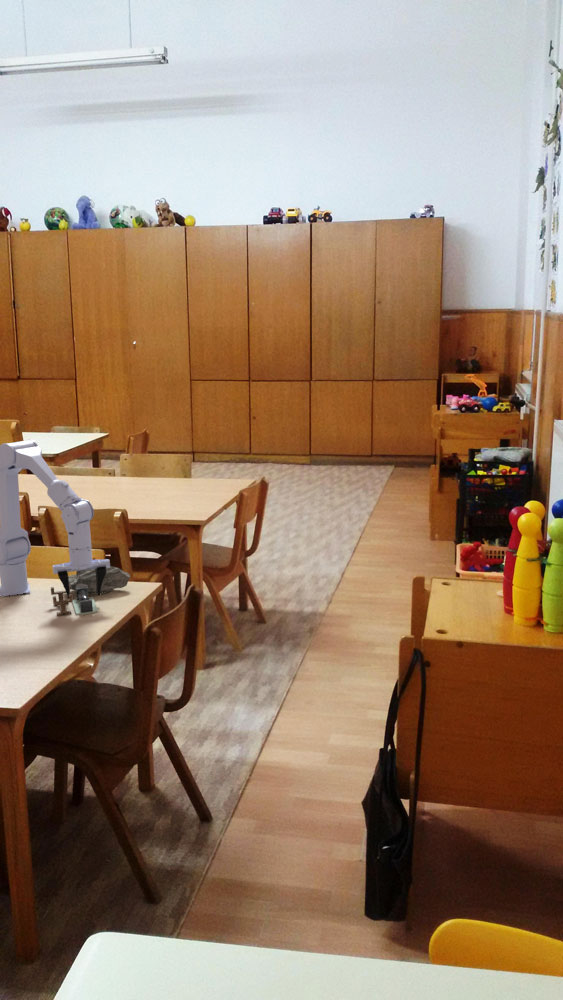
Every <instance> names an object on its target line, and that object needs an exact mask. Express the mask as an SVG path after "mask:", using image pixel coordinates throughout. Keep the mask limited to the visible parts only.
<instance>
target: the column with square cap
mask: <svg viewBox="0 0 563 1000" xmlns="http://www.w3.org/2000/svg"><path fill="white" fill-rule="evenodd" d="M75 594H76V599H77V600H80V609H81V613H85V612H92V611H93V607H92V600H89V598H90V597H89V594H88V588H87V587H85V588H77V589H76V592H75Z"/></svg>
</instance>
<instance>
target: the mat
mask: <svg viewBox="0 0 563 1000" xmlns="http://www.w3.org/2000/svg"><path fill="white" fill-rule="evenodd" d="M88 598H89V600H92V607H93V611H92V612H85V613H81V609H80V600H77V598H76V599H75V598H74V599H73V603H72V606H73V609H74V612H75V615H76V616H80V615H88V614H94V613H95V614H96V613H98V612H99V609H98V607H97V604H96V602H95V601H96V600H95V599H94V597H93V596H90V597H88Z"/></svg>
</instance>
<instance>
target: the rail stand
mask: <svg viewBox="0 0 563 1000" xmlns="http://www.w3.org/2000/svg"><path fill="white" fill-rule="evenodd" d="M69 590H70V591H71V589H70V587H69ZM50 594H51V596H52V604H53V605H54V606H55V605H59V606H58V607H59V609H60V611H57V612H56V617H61V616H68V615H69V614H70V615H72V610H67V605H66V604H68V605H69V604H70V603H72V602H73V600H74V599H73V594H71V593H70V594H69V599H66V600H65V599H64V594H67V593H66V590H59V591H55V587H54V586H51V587H50ZM54 595H55V596H54ZM56 595H58V596H56ZM57 597H58V600H57Z"/></svg>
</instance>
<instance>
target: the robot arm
mask: <svg viewBox="0 0 563 1000" xmlns="http://www.w3.org/2000/svg"><path fill="white" fill-rule="evenodd" d="M42 455H43V452H42V448H41V447H40V446H39V445H38V443H37V442H36V441H35V440H33V439H30V438H29V439H26V440H22V441H16V442H15V441H14V442H9V443H8V442H6V443H1V444H0V597H8V596H9V595H10V596H15V595H16V596H17V594H18V595H24V594H23V593H26V594H30V593H31V588H30V582H28V572H27V559H28V556H29V555H30V554H31V551H32V545H31V542H30V539H29V532H28V531H27V530H26V529H24V528H23V527H21V526H22V525H21V507H20V487H19V485H20V484H19V472H21V471H22V470H25V469H26V470H29V471H31V473H32V474H33V475H34V476H35V477H36V478H37V479H39V481H40V482H41V483H42V484H43V485H44V486H45V487H46V488H47V493H46V494H47V496H48V497H49V498H50V500H52V502H53V503H54V504H55V505H56V506H57V507H56V508H58V509H59V510H60V511H61V513H60V516H61V519H62V522H63V523H64V527H65V528H64V529H65V530H66V532H67V539H68V541H67V542H68V552H69V553H68V554H69V562H63V563H58V564H53V565H52V572H53V575H58V576H57V577H58V579H59V581H60V583H61V584H62V585H63V586H62V587H63V588H64V589H65V590H64V591H66V593H65V594H66V598H67V600H69V594H71V589H70V590H69V577H68V576H69V572H76V571H80V570H88V569H95V572H96V591H97V593H96V595H97V596H101V594H100V591H101V586H102V582H103V579H104V577H105V575H106V568H110V567H111V563H110V562H111V561H110V559H108V558H106V559H105V558H104V559H93V552H92V550H93V549H92V538H91V537H92V535H91V525H90V521H92V519H93V518H94V516H95V515H94V514H95V512H94V508H93V505H92V504H91V502H90V501H89V500H88V499H84V498H82V497H79V495H78V494H77V493H76V492H75V490H73V489H72V487H71V486H70V484H69V483H68V482H67V481H66V480H63V479H58V477H57V476H56V475H55V473H54V472H53V470H52V469H51V467H50V466H49V465H48V464H47V462H46V461H45V459H44V457H43V456H42ZM28 560H29V559H28ZM10 596H9V597H10Z"/></svg>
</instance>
